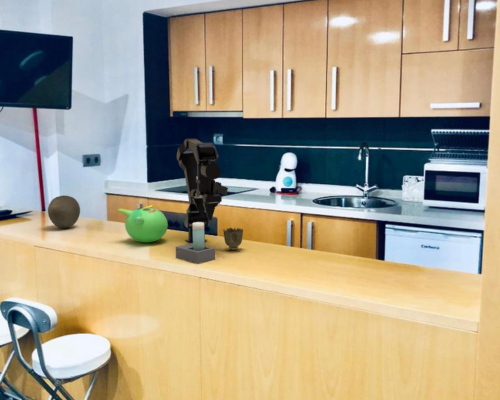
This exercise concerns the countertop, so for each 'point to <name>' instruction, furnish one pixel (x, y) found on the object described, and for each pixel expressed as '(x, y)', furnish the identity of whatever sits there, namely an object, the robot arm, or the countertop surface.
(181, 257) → the socket
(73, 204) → the cantaloupe
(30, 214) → the countertop surface
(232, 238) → the cup
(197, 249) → the peg
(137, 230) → the toy bird
